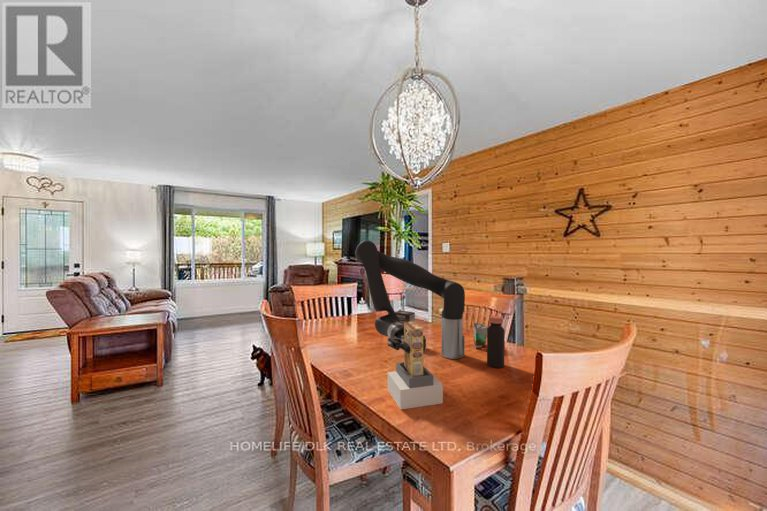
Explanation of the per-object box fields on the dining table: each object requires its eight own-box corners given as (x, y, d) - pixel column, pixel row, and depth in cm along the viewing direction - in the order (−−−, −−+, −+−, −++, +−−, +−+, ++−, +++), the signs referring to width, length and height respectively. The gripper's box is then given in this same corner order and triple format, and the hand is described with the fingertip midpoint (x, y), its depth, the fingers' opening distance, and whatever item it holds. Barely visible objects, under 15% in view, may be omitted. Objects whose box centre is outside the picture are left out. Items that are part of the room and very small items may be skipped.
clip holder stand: (425, 384, 114) (425, 359, 114) (442, 403, 101) (442, 375, 100) (387, 389, 110) (387, 363, 110) (400, 409, 97) (400, 380, 96)
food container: (489, 350, 150) (489, 329, 149) (475, 350, 151) (476, 329, 151) (486, 342, 162) (486, 323, 161) (473, 342, 163) (474, 322, 163)
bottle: (506, 364, 132) (507, 316, 131) (500, 369, 127) (500, 319, 126) (491, 360, 137) (491, 314, 136) (484, 365, 132) (484, 317, 131)
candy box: (423, 375, 101) (424, 328, 101) (411, 377, 100) (411, 328, 100) (415, 365, 110) (415, 321, 109) (403, 366, 109) (403, 321, 108)
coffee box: (393, 344, 160) (392, 312, 160) (399, 340, 166) (399, 310, 165) (409, 347, 155) (409, 314, 155) (415, 343, 161) (415, 312, 160)
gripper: (381, 325, 117) (395, 339, 100) (417, 323, 120) (437, 336, 104) (381, 346, 117) (395, 363, 100) (417, 342, 121) (436, 359, 104)
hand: (416, 349), depth 102 cm, fingers closed on candy box, 4 cm apart
